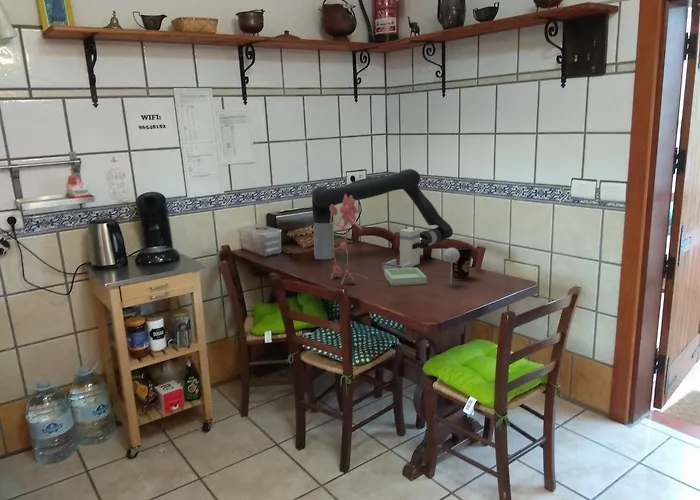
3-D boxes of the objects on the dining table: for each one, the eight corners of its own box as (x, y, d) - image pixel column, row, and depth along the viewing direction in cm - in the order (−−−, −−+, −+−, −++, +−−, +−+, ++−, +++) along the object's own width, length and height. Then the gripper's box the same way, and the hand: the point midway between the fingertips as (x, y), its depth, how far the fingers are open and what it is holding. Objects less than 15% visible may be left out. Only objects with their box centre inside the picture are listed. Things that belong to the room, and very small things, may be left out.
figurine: (349, 291, 209) (350, 199, 201) (319, 275, 231) (319, 192, 223) (383, 285, 216) (385, 197, 208) (351, 270, 238) (351, 190, 230)
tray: (392, 286, 214) (392, 278, 213) (384, 276, 228) (384, 269, 227) (426, 284, 216) (426, 276, 215) (416, 274, 230) (417, 267, 229)
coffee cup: (472, 276, 226) (474, 245, 223) (470, 282, 218) (471, 250, 215) (451, 274, 228) (452, 244, 225) (448, 280, 221) (449, 249, 218)
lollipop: (449, 288, 211) (450, 250, 207) (439, 284, 216) (440, 247, 212) (461, 285, 213) (463, 248, 210) (452, 281, 218) (453, 245, 215)
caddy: (410, 267, 240) (411, 227, 236) (399, 265, 244) (399, 225, 239) (419, 263, 247) (420, 224, 243) (408, 261, 250) (409, 222, 246)
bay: (400, 274, 230) (400, 266, 229) (382, 270, 236) (382, 263, 235) (412, 268, 238) (412, 261, 237) (394, 265, 244) (394, 258, 243)
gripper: (412, 229, 258) (393, 235, 244) (439, 232, 249) (421, 239, 236) (412, 245, 259) (393, 252, 246) (439, 248, 251) (421, 256, 238)
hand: (407, 246), depth 241 cm, fingers closed on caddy, 5 cm apart
